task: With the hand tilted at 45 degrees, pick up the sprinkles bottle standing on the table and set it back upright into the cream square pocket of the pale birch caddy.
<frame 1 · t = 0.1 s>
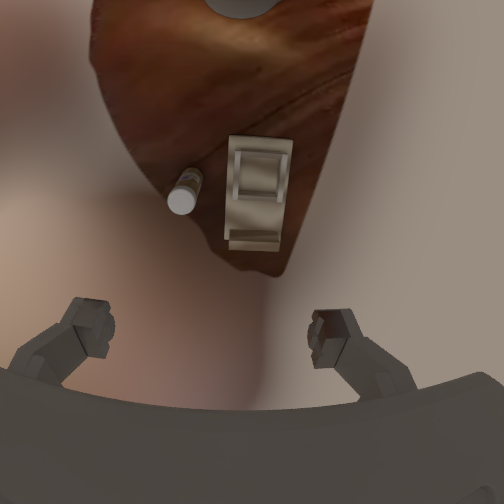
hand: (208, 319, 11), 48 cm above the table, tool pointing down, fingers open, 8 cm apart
caddy: (256, 189, 58), on the table
sprinkles bottle: (192, 177, 56), on the table
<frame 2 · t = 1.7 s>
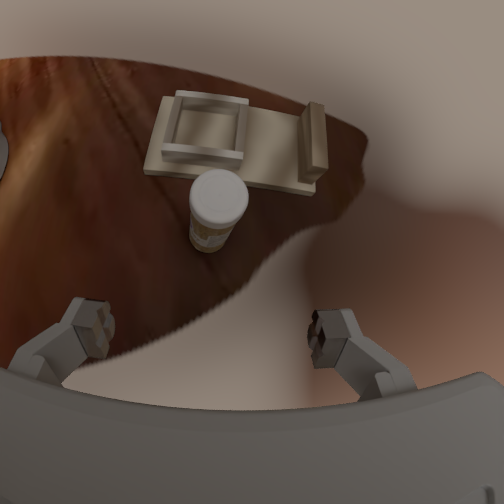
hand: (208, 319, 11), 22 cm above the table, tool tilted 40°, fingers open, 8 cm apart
caddy: (234, 144, 37), on the table
sprinkles bottle: (208, 235, 34), on the table
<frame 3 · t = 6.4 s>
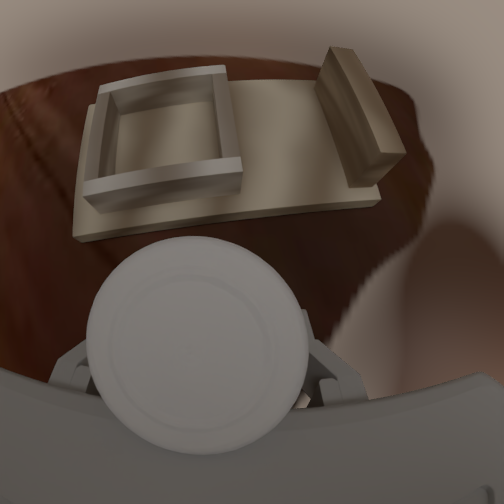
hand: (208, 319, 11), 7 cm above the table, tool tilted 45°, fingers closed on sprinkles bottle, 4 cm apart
caddy: (220, 147, 21), on the table
sprinkles bottle: (215, 329, 18), on the table, touching gripper
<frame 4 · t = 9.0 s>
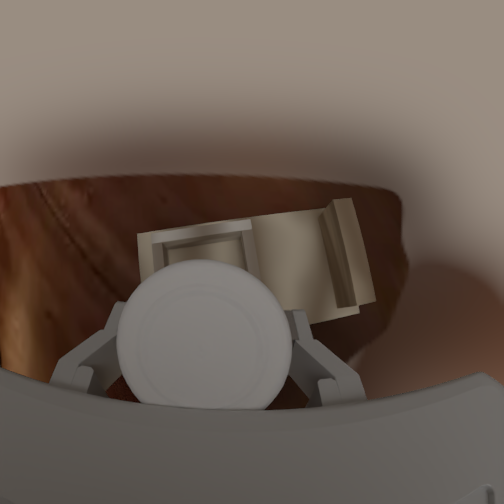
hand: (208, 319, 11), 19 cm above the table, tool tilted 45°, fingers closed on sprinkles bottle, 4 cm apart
caddy: (247, 277, 30), on the table
sprinkles bottle: (213, 326, 20), point 10 cm above the table, touching gripper
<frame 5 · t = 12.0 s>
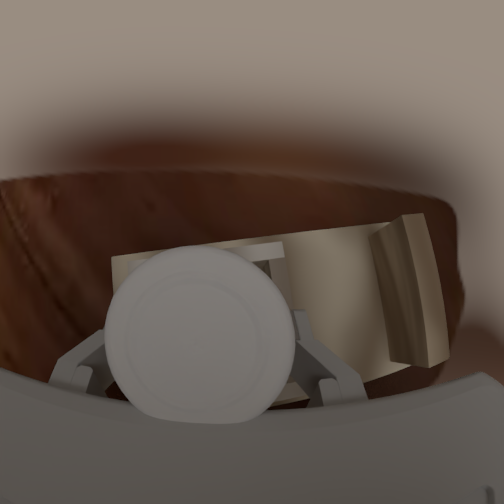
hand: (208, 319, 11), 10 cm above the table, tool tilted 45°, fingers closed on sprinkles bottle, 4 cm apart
caddy: (271, 321, 21), on the table
sprinkles bottle: (215, 328, 19), point 1 cm above the table, touching caddy, gripper
when the fingers open (10 cm above the table, at t = 12.5 s): sprinkles bottle stays where it is, resting on caddy.
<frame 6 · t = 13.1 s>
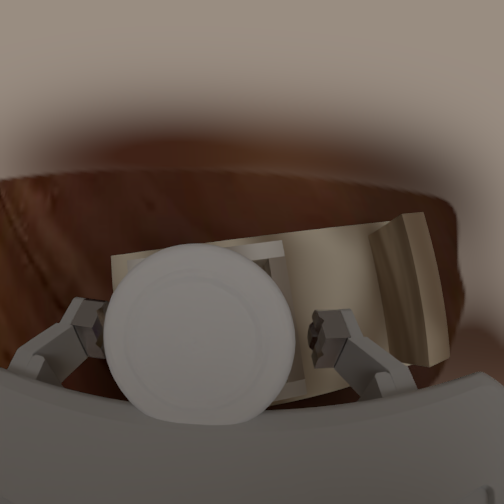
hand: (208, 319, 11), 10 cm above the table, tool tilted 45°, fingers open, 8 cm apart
caddy: (271, 320, 21), on the table
sprinkles bottle: (215, 327, 19), point 1 cm above the table, touching caddy
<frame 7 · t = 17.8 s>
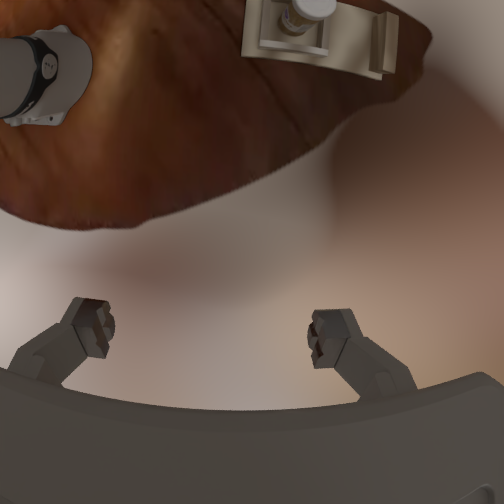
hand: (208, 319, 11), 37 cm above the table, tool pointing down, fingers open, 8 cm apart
caddy: (316, 31, 33), on the table
sprinkles bottle: (292, 24, 32), point 1 cm above the table, touching caddy
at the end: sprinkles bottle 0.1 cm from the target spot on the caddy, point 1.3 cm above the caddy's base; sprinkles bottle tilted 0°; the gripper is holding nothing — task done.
